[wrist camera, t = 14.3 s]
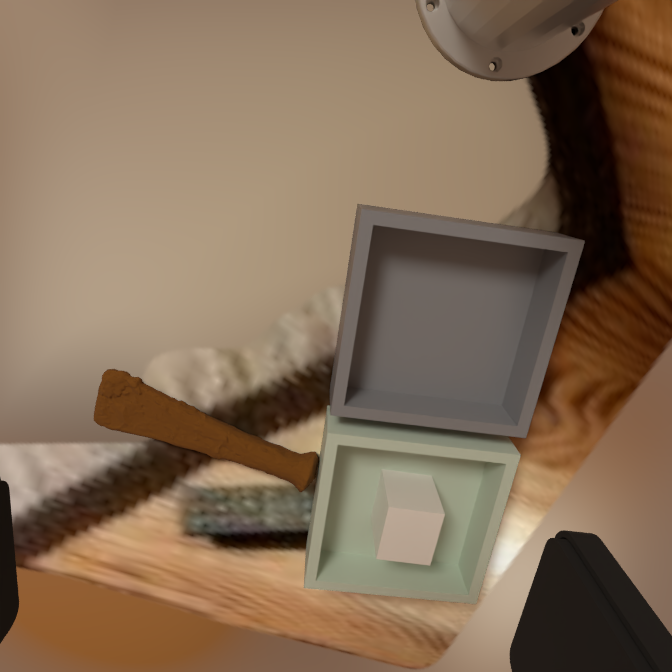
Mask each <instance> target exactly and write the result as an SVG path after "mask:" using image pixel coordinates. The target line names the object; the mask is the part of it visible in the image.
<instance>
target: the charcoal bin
mask: <svg viewBox="0 0 672 672" xmlns="http://www.w3.org/2000/svg"><path fill="white" fill-rule="evenodd" d="M584 243H585V241H584V240H580V239H577V238H573V237H570V236H566V235H563V234H559V233H556V232H550V231H543V230H536V229H529V228H522V227H515V226H508V225H501V224H494V223H486V222H480V221H472V220H466V219H459V218H452V217H445V216H438V215H431V214H424V213H418V212H410V211H403V210H397V209H390V208H383V207H376V206H369V205H362V204H357V211H356V218H355V224H354V231H353V238H352V244H351V251H350V258H349V264H348V271H347V278H346V285H345V291H344V298H343V305H342V311H341V318H340V325H339V331H338V338H337V345H336V352H335V358H334V365H333V372H332V378H331V385H330V415H332V416H340V417H349V418H358V419H366V420H375V421H383V422H392V423H400V424H409V425H417V426H426V427H435V428H443V429H452V430H460V431H469V432H477V433H486V434H495V435H503V436H512V437H520V438H526V436H527V433H528V430H529V426H530V423H531V420H532V416H533V413H534V410H535V406H536V403H537V400H538V396H539V393H540V390H541V386H542V383H543V379H544V376H545V373H546V369H547V366H548V363H549V359H550V356H551V353H552V349H553V346H554V343H555V339H556V336H557V333H558V329H559V326H560V323H561V319H562V316H563V313H564V309H565V306H566V303H567V299H568V296H569V293H570V289H571V286H572V283H573V279H574V276H575V273H576V269H577V266H578V263H579V259H580V256H581V253H582V249H583V246H584Z"/></svg>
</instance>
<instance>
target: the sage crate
mask: <svg viewBox="0 0 672 672" xmlns="http://www.w3.org/2000/svg"><path fill="white" fill-rule="evenodd" d="M520 456H521V455H520V453H519V452H518V450H517V449H516V447H515V446H514V444H513V443H512V441H511V440H510V438H509V437H508V436H503V435H495V434H486V433H477V432H469V431H460V430H452V429H443V428H435V427H426V426H417V425H409V424H400V423H392V422H383V421H375V420H366V419H358V418H349V417H340V416H332V415H330V406H327V412H326V418H325V425H324V432H323V439H322V445H321V452H320V459H319V465H318V472H317V479H316V485H315V492H314V499H313V506H312V512H311V519H310V526H309V532H308V539H307V546H306V558H305V577H304V588H309V589H320V590H330V591H341V592H352V593H362V594H373V595H383V596H394V597H404V598H415V599H426V600H436V601H447V602H457V603H468V604H476V603H477V600H478V596H479V593H480V590H481V586H482V583H483V580H484V576H485V573H486V570H487V566H488V563H489V560H490V556H491V553H492V550H493V546H494V543H495V540H496V536H497V533H498V530H499V526H500V523H501V520H502V516H503V513H504V510H505V506H506V503H507V500H508V496H509V493H510V490H511V486H512V483H513V480H514V476H515V473H516V470H517V466H518V463H519V460H520ZM382 469H386V470H393V471H401V472H408V473H416V474H423V475H431V476H432V478H433V481H434V484H435V487H436V489H437V492H438V495H439V498H440V501H441V504H442V507H443V510H444V513H445V516H444V519H443V523H442V526H441V530H440V533H439V537H438V540H437V544H436V547H435V551H434V554H433V558H432V561H431V565H430V566H429V565H421V564H413V563H404V562H396V561H388V560H380V559H376V554H375V546H374V538H373V530H372V522H371V514H372V509H373V505H374V501H375V496H376V492H377V488H378V483H379V479H380V475H381V470H382Z"/></svg>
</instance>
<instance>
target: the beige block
mask: <svg viewBox="0 0 672 672" xmlns="http://www.w3.org/2000/svg"><path fill="white" fill-rule="evenodd" d="M444 516H445V513H444V510H443V507H442V504H441V501H440V498H439V495H438V492H437V489H436V487H435V484H434V481H433V478H432V476H431V475H423V474H416V473H408V472H401V471H393V470H386V469H382V470H381V475H380V479H379V483H378V488H377V492H376V496H375V501H374V505H373V509H372V514H371V522H372V530H373V538H374V546H375V554H376V559H380V560H388V561H396V562H404V563H413V564H421V565H429V566H430V565H431V561H432V558H433V554H434V551H435V547H436V544H437V540H438V537H439V533H440V530H441V526H442V523H443V519H444Z"/></svg>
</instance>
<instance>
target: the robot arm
mask: <svg viewBox="0 0 672 672" xmlns="http://www.w3.org/2000/svg"><path fill="white" fill-rule="evenodd" d="M415 1H416V7H417V10H418V14H419V16H420V19H421V22H422V25H423V28H424V29H425V31H426V33H427V35H428V37H429V38H430V40H431V42H432V43H433V45H434V46H435V47H436V48H437V50H438V51H439V52H440V53H441V54H442V56H443V57H444V58H445V59H446V60H448V61H449V62H450V63H451V64H453V65H454V66H455V67H457V68H458V69H459V70H461V71H463V72H465V73H468V74H470V75H472V76H474V77H477V78H481V79H486V80H490V81H512V80H517V79H522V78H527V77H530V76H532V75H535V74H537V73H540V72H542V71H544V70H546V69H548V68H550V67H552V66H553V65H555V64H557V63H559V62H560V61H561V60H563V59H564V58H565V57H566V56H568V55H569V54H570V53H571V52H573V51H574V50H575V49H576V48H577V47H578V46H579V45H580V44H581V43H582V42H583V40H584V39H585V38H586V37H587V36H588V35H589V33H590V32H591V30H592V29H593V27H594V26H595V24H596V22H597V21H598V19H599V18H600V16H601V14H602V12H603V10H604V8H606V7H607V6H609V5H611V4H613V3H614V2H616V1H618V0H415ZM428 4H432V5H433V6H434V10H433V11H428V9H427V5H428ZM571 28H573V29H574V30H575V34H574V35H573V34H572V32H571ZM490 63H493V64H494V65H495V69H494V71H491V70H490V68H489V64H490ZM18 608H19V597H18V585H17V574H16V562H15V550H14V539H13V527H12V515H11V504H10V492H9V486H8V484H7V482H5V481H1V479H0V643H1V642H2V640H3V639H4V637H5V636H6V634H7V633H8V631H9V630H10V628H11V626H12V625H13V623H14V621H15V619H16V616H17V612H18ZM510 664H511V669H512V672H672V636H671V634H670V633H669V632H668V631H667V629H666V627H665V626H664V625H663V623H662V622H661V621H660V619H659V618H658V617H657V615H656V614H655V613H654V611H653V610H652V608H651V607H650V606H649V604H648V603H647V602H646V600H645V599H644V598H643V596H642V595H641V594H640V592H639V591H638V589H637V588H636V587H635V585H634V584H633V583H632V581H631V580H630V579H629V577H628V576H627V574H626V573H625V572H624V571H623V569H622V568H621V566H620V565H619V564H618V562H617V561H616V560H615V558H614V557H613V555H612V554H611V553H610V551H609V550H608V549H607V547H606V546H605V545H604V543H603V542H602V541H601V539H600V538H599V537H598V536H597V535H595V534H592V533H583V532H572V531H560V532H558V533H557V534H556V536H555V538H550V539H549V540H548V541H547V543H546V545H545V548H544V551H543V554H542V556H541V560H540V563H539V566H538V568H537V572H536V574H535V577H534V580H533V583H532V586H531V589H530V592H529V595H528V598H527V600H526V603H525V606H524V609H523V612H522V615H521V618H520V621H519V624H518V627H517V630H516V633H515V636H514V639H513V642H512V644H511V648H510Z"/></svg>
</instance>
